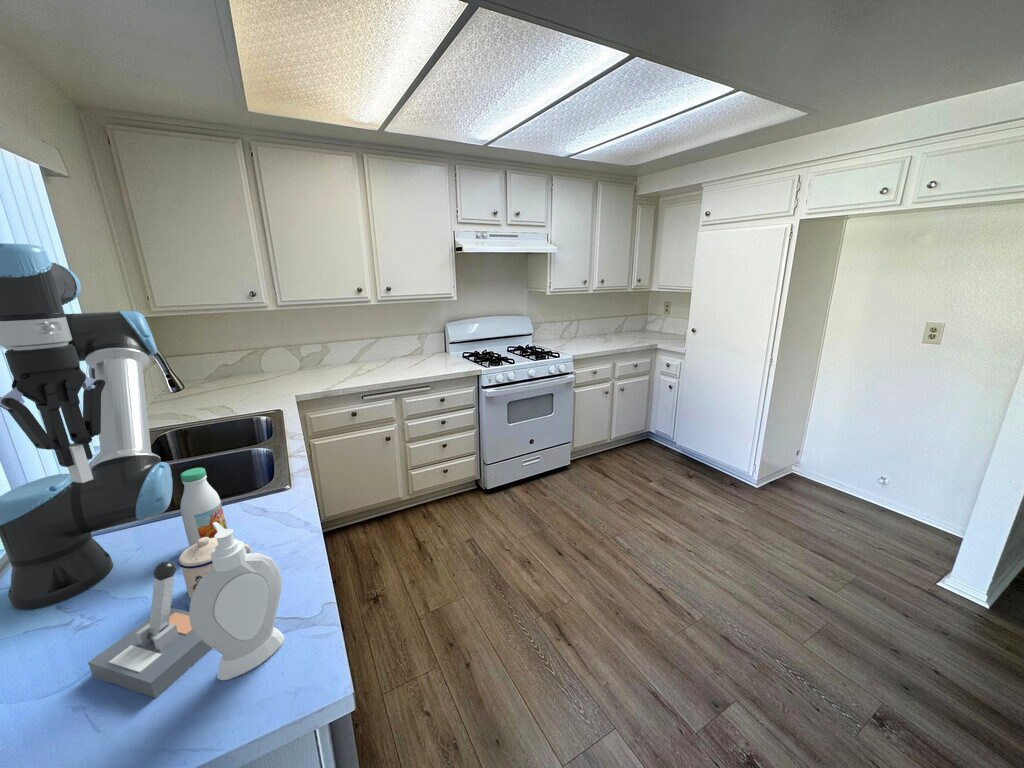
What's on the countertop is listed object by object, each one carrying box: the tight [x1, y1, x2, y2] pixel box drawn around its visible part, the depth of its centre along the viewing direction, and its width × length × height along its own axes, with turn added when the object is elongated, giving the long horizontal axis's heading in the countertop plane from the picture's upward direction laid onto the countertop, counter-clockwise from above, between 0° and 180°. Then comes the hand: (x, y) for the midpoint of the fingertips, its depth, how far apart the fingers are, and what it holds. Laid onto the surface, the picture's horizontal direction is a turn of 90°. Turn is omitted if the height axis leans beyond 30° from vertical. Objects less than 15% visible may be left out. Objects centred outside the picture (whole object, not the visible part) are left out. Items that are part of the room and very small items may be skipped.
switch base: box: [87, 607, 213, 699], centre depth 70 cm, size 12×14×5 cm
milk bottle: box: [180, 467, 228, 548], centre depth 97 cm, size 8×8×20 cm
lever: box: [147, 561, 177, 642], centre depth 70 cm, size 3×3×13 cm
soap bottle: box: [188, 522, 285, 681], centre depth 67 cm, size 13×8×24 cm, turn 140°
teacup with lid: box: [177, 537, 252, 600], centre depth 85 cm, size 12×9×12 cm
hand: (82, 480), depth 71 cm, fingers closed
